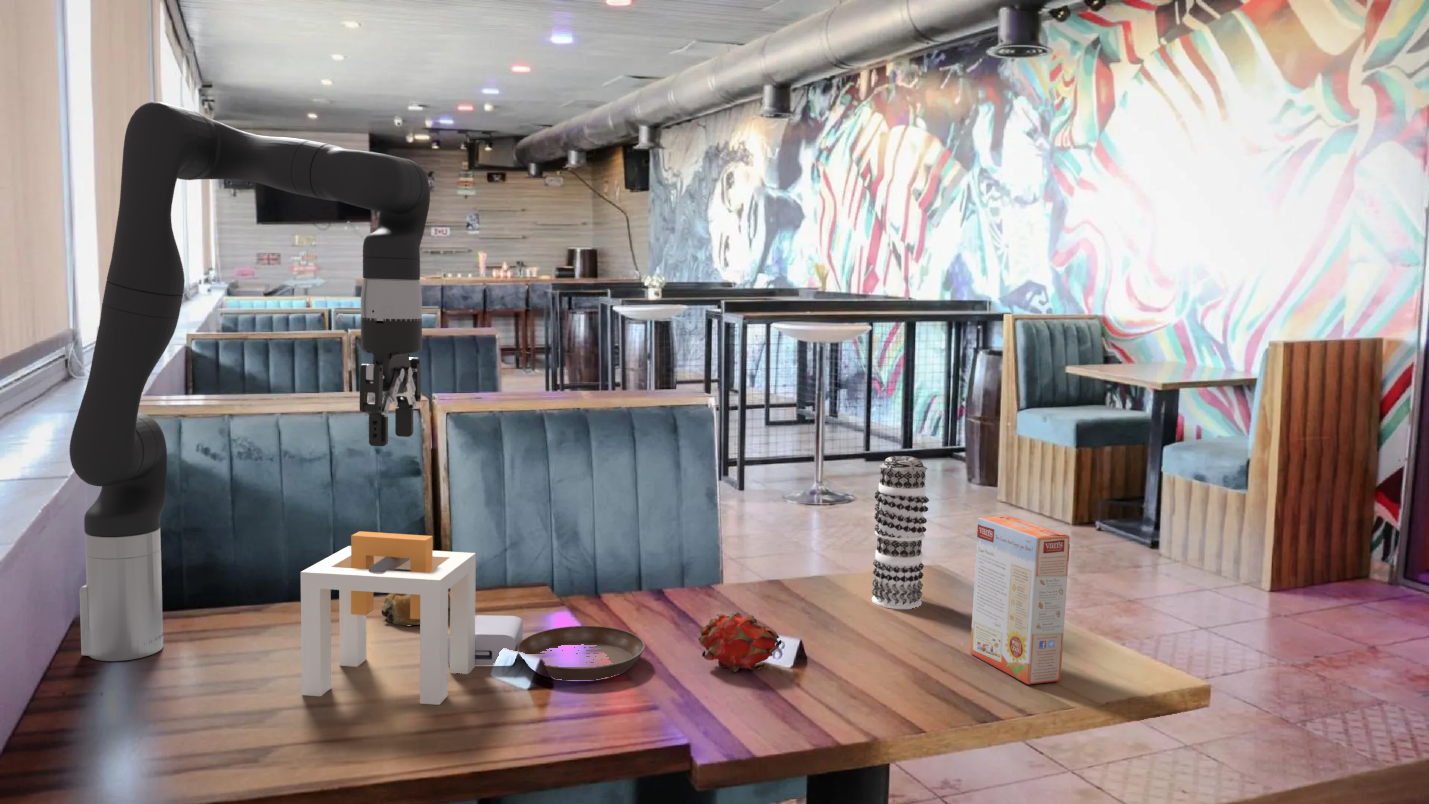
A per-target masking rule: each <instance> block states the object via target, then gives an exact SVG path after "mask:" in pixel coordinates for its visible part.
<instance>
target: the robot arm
mask: <svg viewBox="0 0 1429 804" xmlns="http://www.w3.org/2000/svg"><path fill="white" fill-rule="evenodd" d="M120 180H121V181H120V195H119V206H118V212H117V213H118V215H117V220H116V226H115V233H114V240H113V247H112V253H111V259H110V264H109V268H108V272H107V276H106V281H105V286H104V292H103V299H102V303H101V309H100V317H99V325H98V329H97V335H96V340H95V345H94V349H93V353H92V354H93V355H92V359H91V366H90V370H89V375H88V379H87V383H86V385H85V390H84V392H83V396H82V400H81V402H80V406H79V409H78V412H77V414H76V419H75V421H74V426H73V428H72V432H71V437H70V441H69V459H70V464H71V467H72V469H73V471H74V472H75V474H76V475H77V476H78V478H79V479H81V480H82V481H83V482H84V483H86V484H88V485H91V486H95V487H101V490H100V493H99V495H98V496H97V499H96V500H95V501H94V503H93V504H92V505H91V506H90V507H89V508H88V509H87V510H86V512H85V514H84V517H83V519H84V520H83V521H84V523H83V525H84V528H83V530H84V549H85V550H84V551H85V581H86V582H85V583H86V584H84V585H83V586H80V588H79V618H80V643H81V645H80V650H81V655H82V656H88V657H89V658H91V659H93V660H96V661H102V662H121V661H123V662H124V661H131V660H135V659H141V658H144V657H145V658H146V657H149V656H151V655H155V654H156V653H158V652H160V651H161V650H162V649H163V647H164V632H163V631H164V630H163V628H164V627H163V620H164V619H163V589H162V588H163V585H162V582H163V581H162V578H163V577H162V547H161V544H162V543H161V540H162V538H161V516H162V513H163V511H164V509H165V505H166V500H167V481H168V480H167V478H168V477H167V476H168V475H167V474H168V452H167V451H168V449H167V442H166V437H165V434H164V432H163V430H162V428H161V426H160V425H159V423H158V422H157V420H155V419H154V418H152V417H151V416H149V415H148V414H146V413H143V412H139V408H140V403H141V399H142V396H143V392H144V390H145V389H144V388H145V386H146V384H147V382H148V380H149V377H150V376H151V374H152V372H153V371H154V369H155V367H156V365H157V364H158V363H159V361H160V359H161V358H162V356H163V355H164V353H165V351H166V349H167V348H168V346H169V344H170V342H171V340H172V338H173V336H174V334H175V332H176V329H177V326H178V323H179V318H180V314H181V308H182V304H183V303H182V302H183V298H184V297H183V296H184V293H185V271H184V266H183V262H182V258H181V254H180V251H179V248H178V245H177V241H176V238H175V234H174V231H173V230H174V229H173V225H172V205H173V200H174V194H175V188H176V183H177V181H178V180H185V181H194V180H195V181H196V180H236V181H245V182H251V183H252V182H253V183H257V184H261V185H264V186H268V187H271V188H273V189H277V190H280V191H283V192H288V193H291V194H296V195H300V196H305V197H309V198H314V199H320V200H326V201H334V202H335V201H336V202H340V203H344V204H348V205H351V206H354V207H358V208H363V209H367V210H372V211H376V212H379V215H378V221H377V227H376V230H375V231H374V232H371V233H369V234H367V235H366V236H365V237H364V240H363V244H362V278H363V279H362V286H361V292H360V349H361V351H362V352H364V353H368V354H370V353H371V354H372V355H373V357H372V362H371V363H361V365H360V367H359V369H360V370H359V371H360V373H359V412H360V413H365V415H366V416H368V444H369V445H370V446H371V447H385V446H388V443H389V416H388V415H389V414H388V413H389V410H390V408H391V404H392V403H394V404H395V407H396V408H395V413H394V416H395V419H394V420H395V421H394V423H395V428H394V429H395V436H397V437H400V438H401V437H405V438H408V437H409V438H410V437H412V436H413V435H414V409H415V408H416V406H417V402H419V403H420V402H421V399H422V387H421V386H422V384H421V382H422V381H421V378H422V377H421V358H420V357H414V356H413V357H411V356H410V355H411V354H418V353H420V352H422V349H423V296H422V288H421V281H420V280H421V254H420V253H421V251H420V248H421V243H422V239H423V236H424V233H425V228H426V222H427V220H428V219H427V218H428V215H429V209H430V203H431V190H430V189H431V188H430V182H429V180H428V176H427V173H426V172H425V170H424V169H423V168H422V166H421V165H420V164H418V163H417V162H416V161H413V160H411V159H408V158H403V157H398V156H394V155H390V154H385V153H379V152H375V151H367V150H359V149H358V150H357V149H351V148H345V147H342V146H339V145H334V144H329V143H327V142H319V141H314V140H309V139H302V138H294V137H286V136H285V137H284V136H268V135H259V134H255V133H250V132H247V131H244V130H240V129H237V128H235V127H232V126H229V125H227V124H224V123H222V122H220V121H217V120H215V119H212V118H210V117H208V116H205V115H204V114H202V113H201V112H198V111H194V110H192V109H188V108H185V107H181V106H177V105H174V104H170V103H167V102H162V101H149V102H146V103H144V104H142V105H140V106H139V107H138V108H137V109H136V110H134V112H133V114H132V115H131V117H130V119H129V122H128V123H127V126H126V130H125V134H124V141H123V151H122V164H121V178H120Z"/></svg>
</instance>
